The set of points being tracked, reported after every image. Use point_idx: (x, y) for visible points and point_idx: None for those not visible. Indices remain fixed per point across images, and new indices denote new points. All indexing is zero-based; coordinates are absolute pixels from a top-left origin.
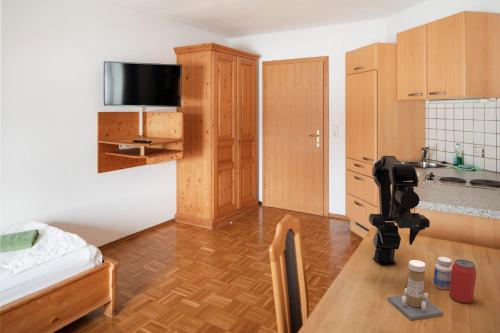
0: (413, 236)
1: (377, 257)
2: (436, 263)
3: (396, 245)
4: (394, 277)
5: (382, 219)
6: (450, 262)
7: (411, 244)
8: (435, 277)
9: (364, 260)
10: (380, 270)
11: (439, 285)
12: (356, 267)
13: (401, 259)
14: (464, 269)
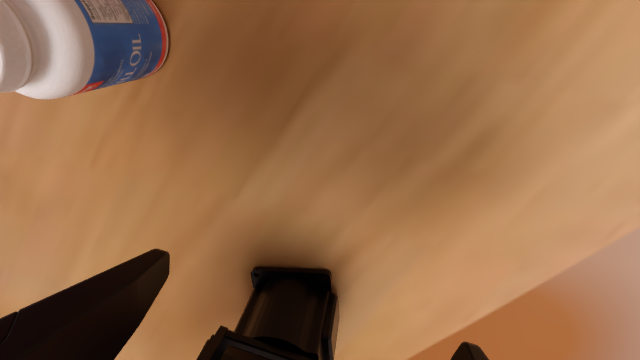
0: (47, 326)
1: (335, 318)
2: (59, 82)
3: (230, 346)
4: (334, 164)
5: None
6: None
7: (154, 250)
8: (137, 37)
9: (379, 327)
10: (363, 238)
11: (146, 3)
12: (464, 289)
13: (210, 293)
14: None
